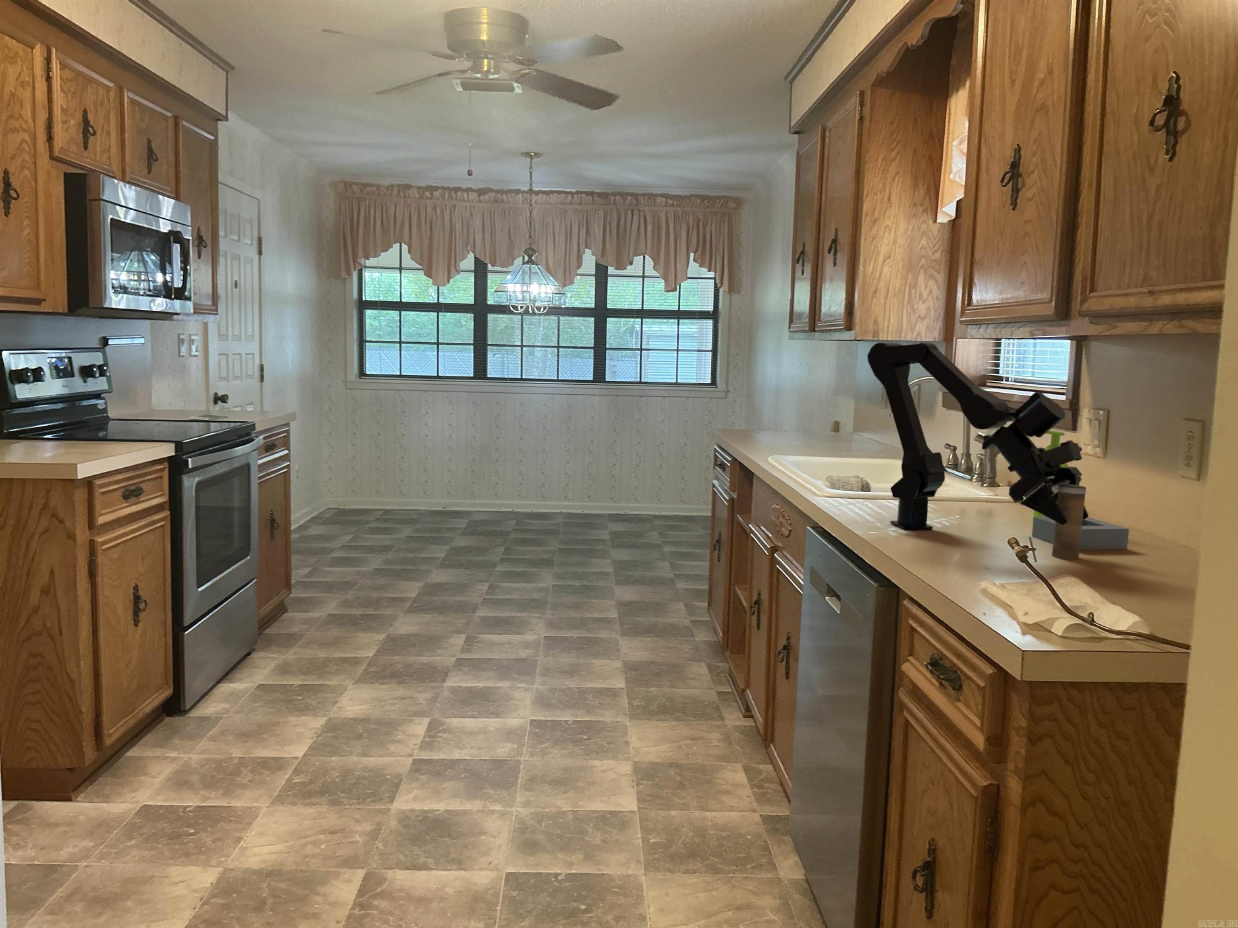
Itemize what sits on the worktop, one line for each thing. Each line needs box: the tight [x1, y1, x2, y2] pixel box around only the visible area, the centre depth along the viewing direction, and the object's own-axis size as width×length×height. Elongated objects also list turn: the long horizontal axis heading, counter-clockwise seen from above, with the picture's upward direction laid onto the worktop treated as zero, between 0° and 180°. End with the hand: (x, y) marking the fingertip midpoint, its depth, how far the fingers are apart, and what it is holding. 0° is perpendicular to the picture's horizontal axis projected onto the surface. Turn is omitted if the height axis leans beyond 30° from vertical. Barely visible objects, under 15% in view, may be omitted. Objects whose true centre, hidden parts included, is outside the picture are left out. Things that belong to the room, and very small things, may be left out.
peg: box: [1051, 484, 1087, 561], centre depth 168 cm, size 4×4×13 cm
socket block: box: [1031, 516, 1130, 551], centre depth 182 cm, size 12×12×4 cm
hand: (1076, 520), depth 167 cm, fingers open, 9 cm apart
